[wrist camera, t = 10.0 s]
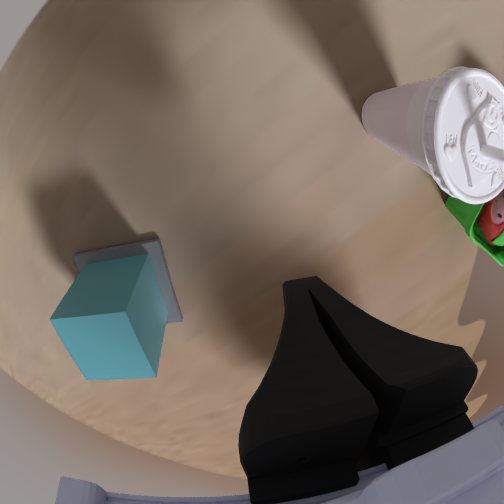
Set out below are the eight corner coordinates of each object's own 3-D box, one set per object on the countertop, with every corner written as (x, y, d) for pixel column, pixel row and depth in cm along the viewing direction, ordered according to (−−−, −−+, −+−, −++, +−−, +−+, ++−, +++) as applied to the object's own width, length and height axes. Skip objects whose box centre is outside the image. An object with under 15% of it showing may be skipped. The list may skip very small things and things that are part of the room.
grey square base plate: (182, 317, 24) (176, 368, 19) (105, 325, 24) (88, 372, 19) (159, 238, 21) (142, 279, 16) (75, 253, 20) (43, 294, 16)
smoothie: (331, 144, 19) (492, 224, 6) (356, 58, 16) (532, 33, 4) (406, 172, 20) (557, 261, 8) (429, 95, 18) (594, 127, 5)
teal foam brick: (168, 312, 23) (156, 377, 17) (109, 319, 23) (86, 379, 17) (148, 253, 21) (125, 311, 15) (85, 264, 20) (49, 319, 15)
